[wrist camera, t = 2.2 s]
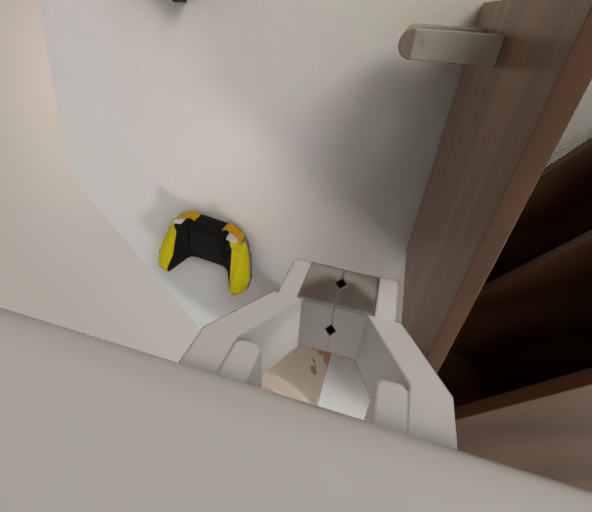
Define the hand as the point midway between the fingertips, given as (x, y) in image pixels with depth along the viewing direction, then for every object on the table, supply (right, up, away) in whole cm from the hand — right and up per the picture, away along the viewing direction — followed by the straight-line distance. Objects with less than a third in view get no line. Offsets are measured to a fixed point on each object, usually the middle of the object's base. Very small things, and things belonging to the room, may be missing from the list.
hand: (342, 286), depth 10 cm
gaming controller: (-14, +3, +43) cm, 45 cm away
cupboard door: (+11, +12, +27) cm, 32 cm away
